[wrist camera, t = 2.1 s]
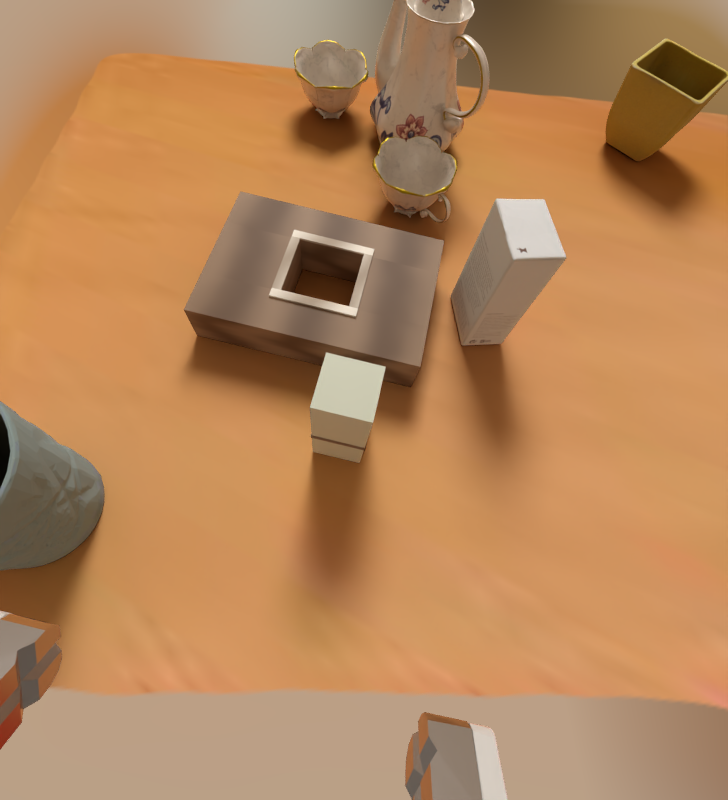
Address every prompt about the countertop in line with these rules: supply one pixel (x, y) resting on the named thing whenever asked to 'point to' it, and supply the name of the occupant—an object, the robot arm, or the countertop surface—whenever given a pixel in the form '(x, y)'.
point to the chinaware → (404, 96)
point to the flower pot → (660, 98)
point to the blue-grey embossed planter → (42, 495)
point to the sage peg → (344, 406)
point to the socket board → (310, 317)
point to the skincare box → (506, 270)
